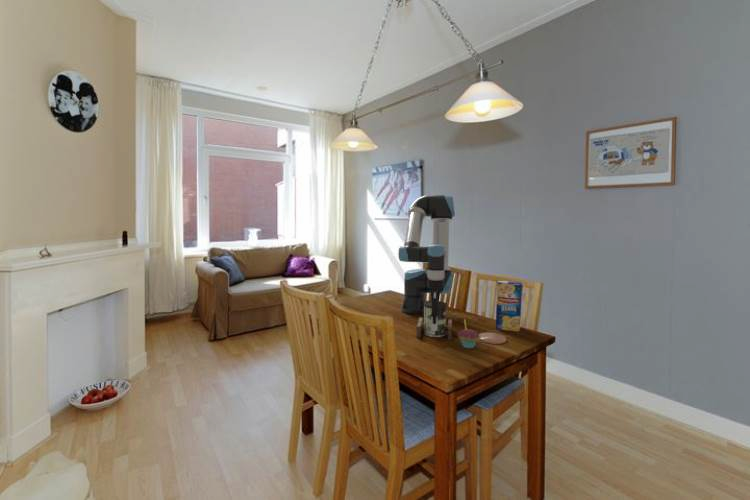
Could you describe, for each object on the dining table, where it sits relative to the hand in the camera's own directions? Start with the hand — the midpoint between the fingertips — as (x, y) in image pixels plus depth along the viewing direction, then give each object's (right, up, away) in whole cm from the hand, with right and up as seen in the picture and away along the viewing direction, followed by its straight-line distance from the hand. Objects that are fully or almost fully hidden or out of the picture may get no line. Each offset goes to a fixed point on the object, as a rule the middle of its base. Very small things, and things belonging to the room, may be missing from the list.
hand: (434, 326), depth 166 cm
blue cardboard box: (+36, -3, +8) cm, 37 cm away
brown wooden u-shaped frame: (0, -3, 0) cm, 3 cm away
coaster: (+24, -4, -7) cm, 25 cm away
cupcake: (+12, -5, -15) cm, 20 cm away
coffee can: (0, -3, 0) cm, 4 cm away
